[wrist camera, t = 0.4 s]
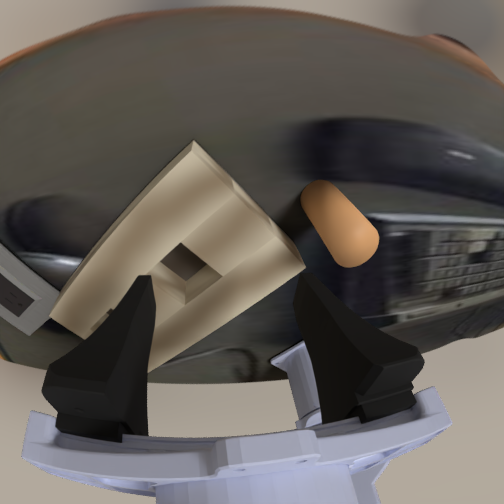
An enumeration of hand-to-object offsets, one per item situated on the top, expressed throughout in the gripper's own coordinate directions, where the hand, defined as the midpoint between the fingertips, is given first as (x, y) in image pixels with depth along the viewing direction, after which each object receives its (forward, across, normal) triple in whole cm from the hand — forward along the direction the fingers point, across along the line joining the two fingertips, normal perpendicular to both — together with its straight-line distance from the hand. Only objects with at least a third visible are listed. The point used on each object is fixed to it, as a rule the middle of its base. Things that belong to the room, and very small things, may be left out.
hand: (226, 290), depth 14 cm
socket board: (+10, +5, +6) cm, 12 cm away
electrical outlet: (+10, +23, +7) cm, 26 cm away
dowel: (+10, -8, -1) cm, 13 cm away
